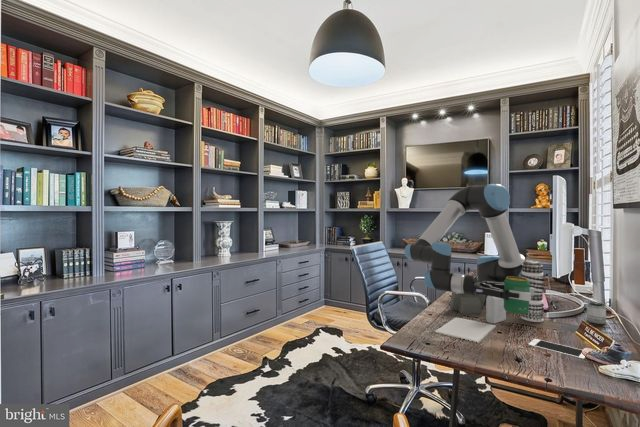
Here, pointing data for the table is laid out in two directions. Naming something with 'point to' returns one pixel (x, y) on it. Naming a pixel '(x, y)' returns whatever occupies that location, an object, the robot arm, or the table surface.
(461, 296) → the grey translucent bin
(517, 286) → the beverage can
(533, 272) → the tower model
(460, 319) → the desk mat
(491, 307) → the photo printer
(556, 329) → the table surface
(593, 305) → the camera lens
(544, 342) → the cell phone
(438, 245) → the robot arm
